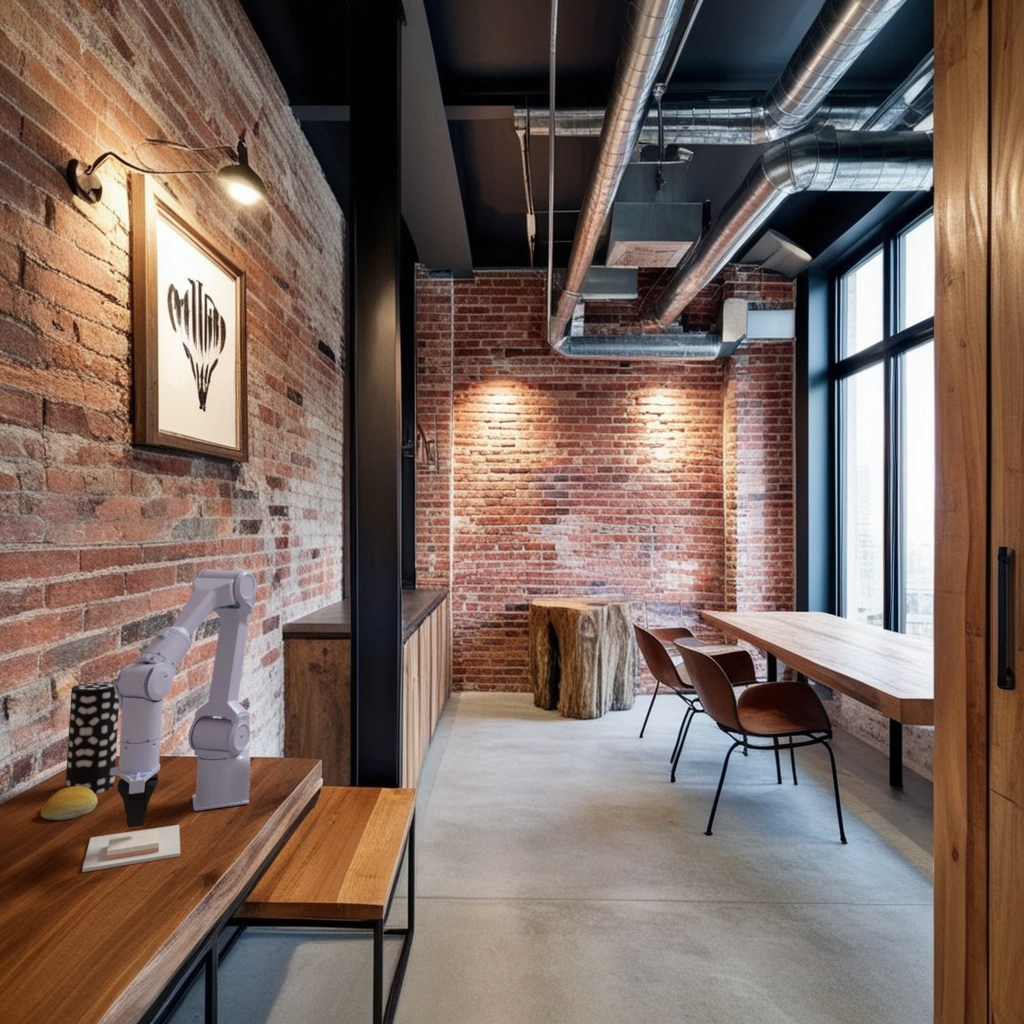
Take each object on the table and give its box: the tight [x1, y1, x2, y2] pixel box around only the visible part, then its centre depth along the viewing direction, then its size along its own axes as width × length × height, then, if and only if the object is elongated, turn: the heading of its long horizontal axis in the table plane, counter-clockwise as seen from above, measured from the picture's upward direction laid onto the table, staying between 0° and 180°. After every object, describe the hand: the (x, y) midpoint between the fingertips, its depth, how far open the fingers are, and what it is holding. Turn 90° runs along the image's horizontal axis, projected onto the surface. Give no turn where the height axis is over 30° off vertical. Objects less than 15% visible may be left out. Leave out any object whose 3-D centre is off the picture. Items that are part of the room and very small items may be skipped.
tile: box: [107, 830, 159, 860], centre depth 106 cm, size 7×1×6 cm
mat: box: [81, 824, 181, 873], centre depth 108 cm, size 13×12×1 cm
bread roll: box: [40, 786, 98, 821], centre depth 122 cm, size 8×9×4 cm
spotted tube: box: [64, 681, 120, 795], centre depth 135 cm, size 8×8×20 cm
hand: (135, 825), depth 108 cm, fingers closed
